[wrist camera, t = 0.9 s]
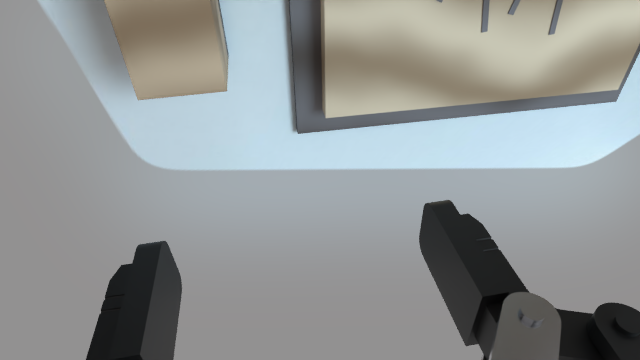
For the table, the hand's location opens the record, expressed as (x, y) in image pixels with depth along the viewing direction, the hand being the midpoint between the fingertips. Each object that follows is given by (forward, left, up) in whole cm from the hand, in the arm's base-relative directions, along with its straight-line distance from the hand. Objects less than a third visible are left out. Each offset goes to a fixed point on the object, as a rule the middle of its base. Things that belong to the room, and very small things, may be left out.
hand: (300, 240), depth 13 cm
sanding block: (-3, -5, -20) cm, 20 cm away
